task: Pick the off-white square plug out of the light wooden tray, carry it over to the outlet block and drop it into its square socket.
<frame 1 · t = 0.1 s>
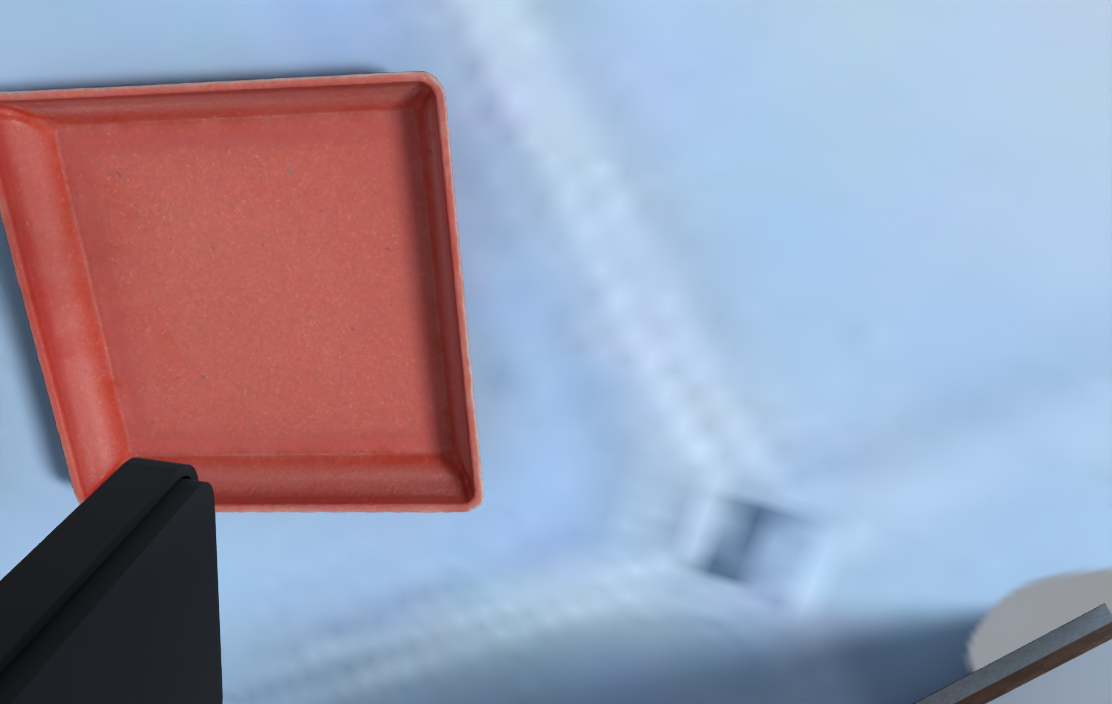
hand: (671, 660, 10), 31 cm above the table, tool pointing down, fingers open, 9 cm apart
plant saucer: (272, 288, 44), on the table
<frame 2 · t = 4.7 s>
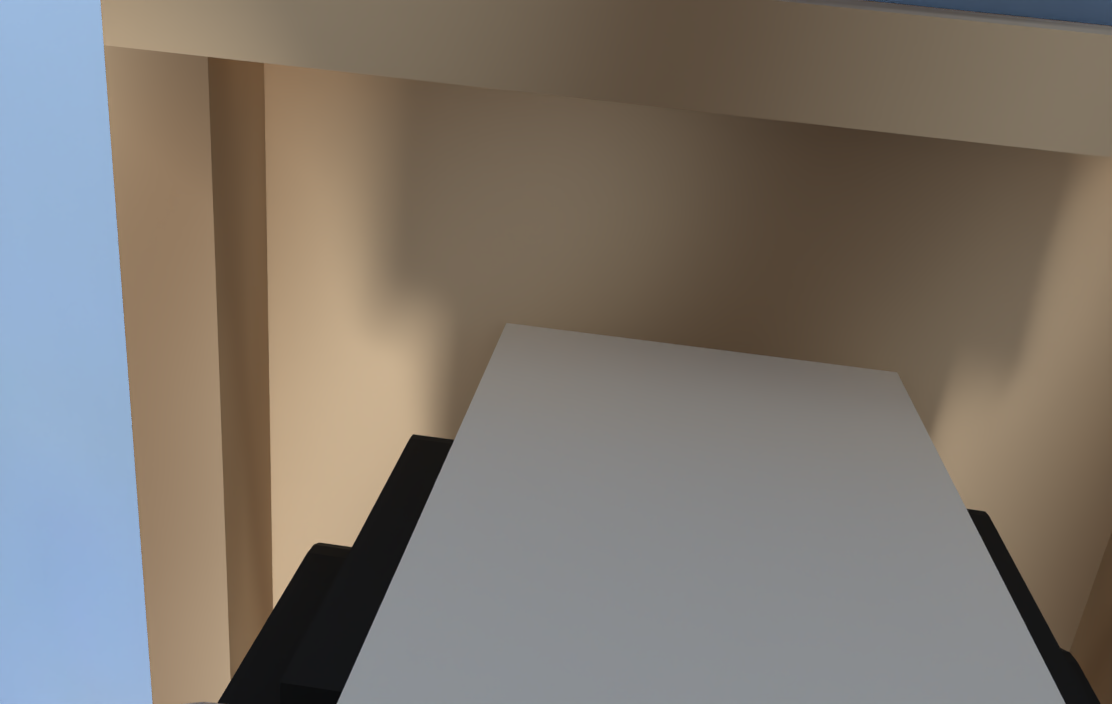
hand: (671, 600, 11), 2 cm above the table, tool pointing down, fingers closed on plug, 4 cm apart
tray: (673, 490, 13), on the table
plug: (672, 515, 12), point 1 cm above the table, touching gripper, tray
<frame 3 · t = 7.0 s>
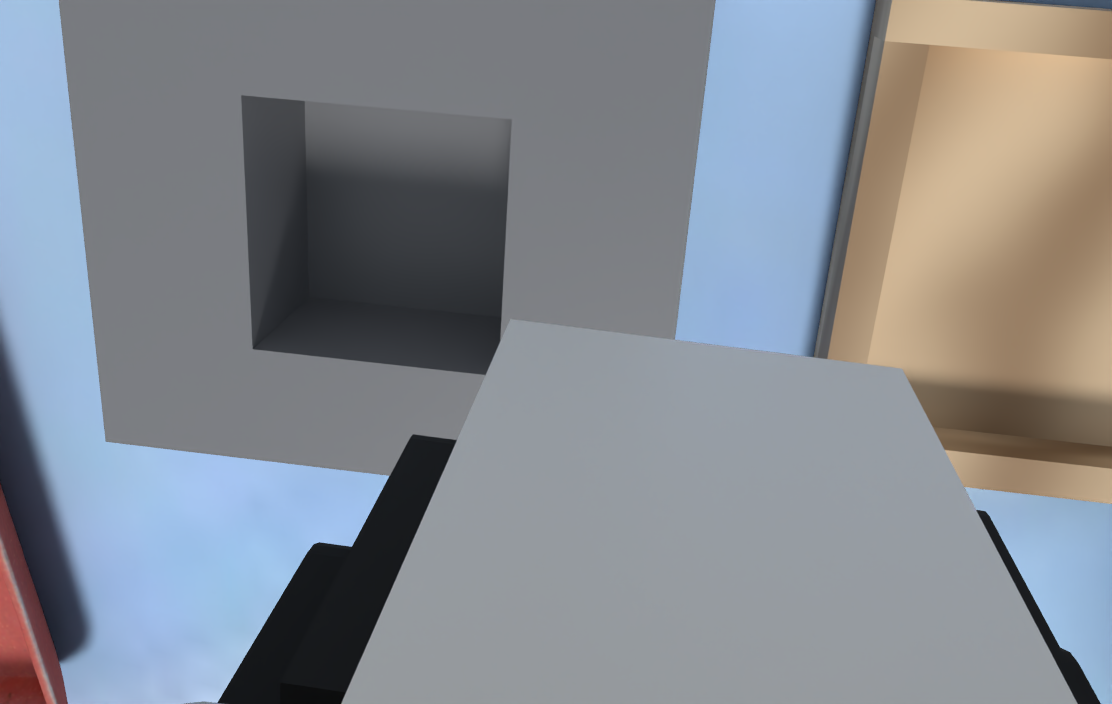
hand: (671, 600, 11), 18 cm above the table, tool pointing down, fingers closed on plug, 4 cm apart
outlet block: (426, 192, 28), on the table
tray: (1070, 254, 26), on the table
plug: (676, 512, 12), point 16 cm above the table, touching gripper
when the fingers open (6 cm above the table, at t = 9.8 s): plug drops 3 cm, resting on outlet block.
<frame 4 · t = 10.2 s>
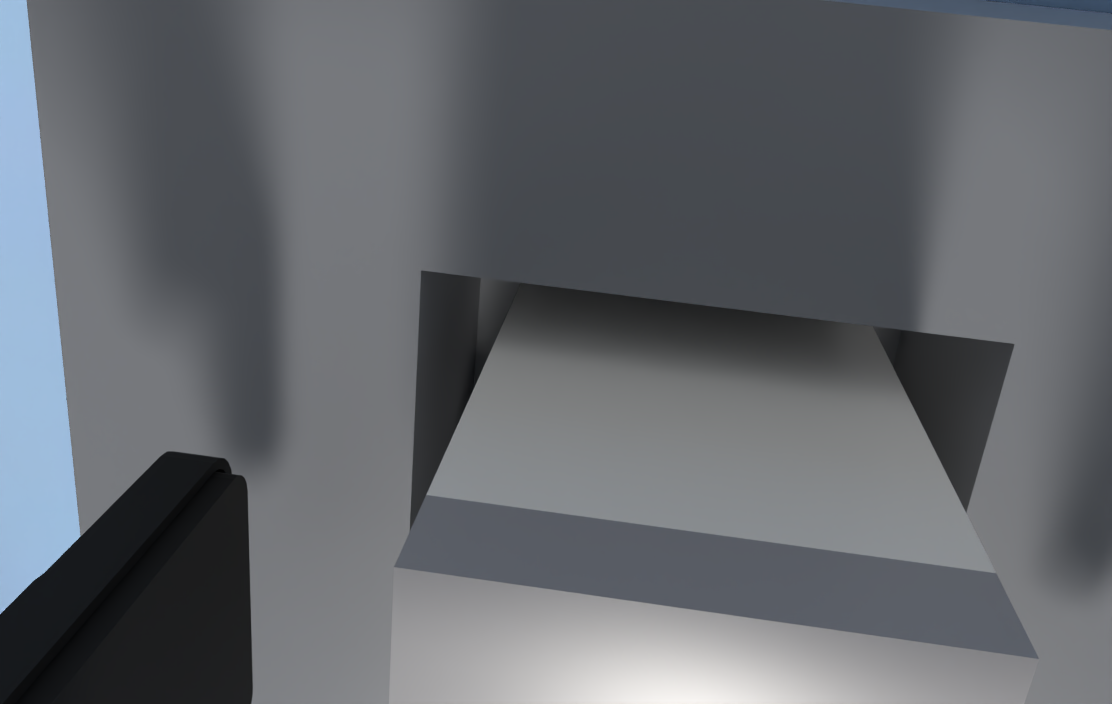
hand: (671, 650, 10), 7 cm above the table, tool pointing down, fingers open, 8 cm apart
outlet block: (673, 379, 16), on the table
plug: (671, 406, 15), point 1 cm above the table, touching outlet block
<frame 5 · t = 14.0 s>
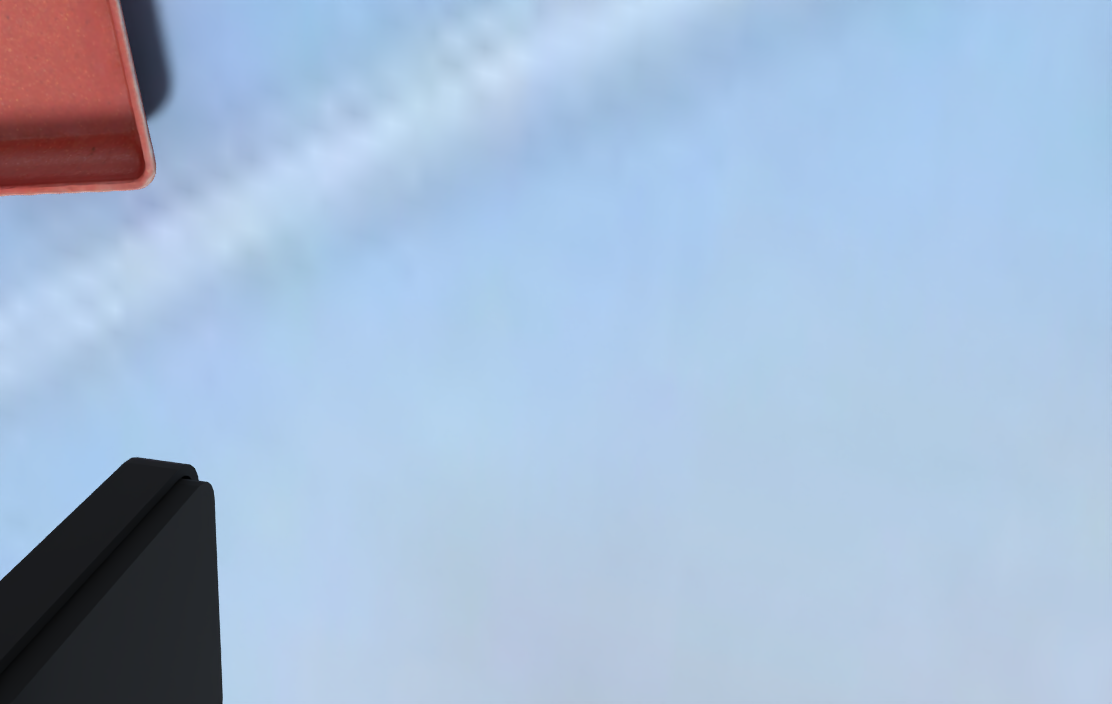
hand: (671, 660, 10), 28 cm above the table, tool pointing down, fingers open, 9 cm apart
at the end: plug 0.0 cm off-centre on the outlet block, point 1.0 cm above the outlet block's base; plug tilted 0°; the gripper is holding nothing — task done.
